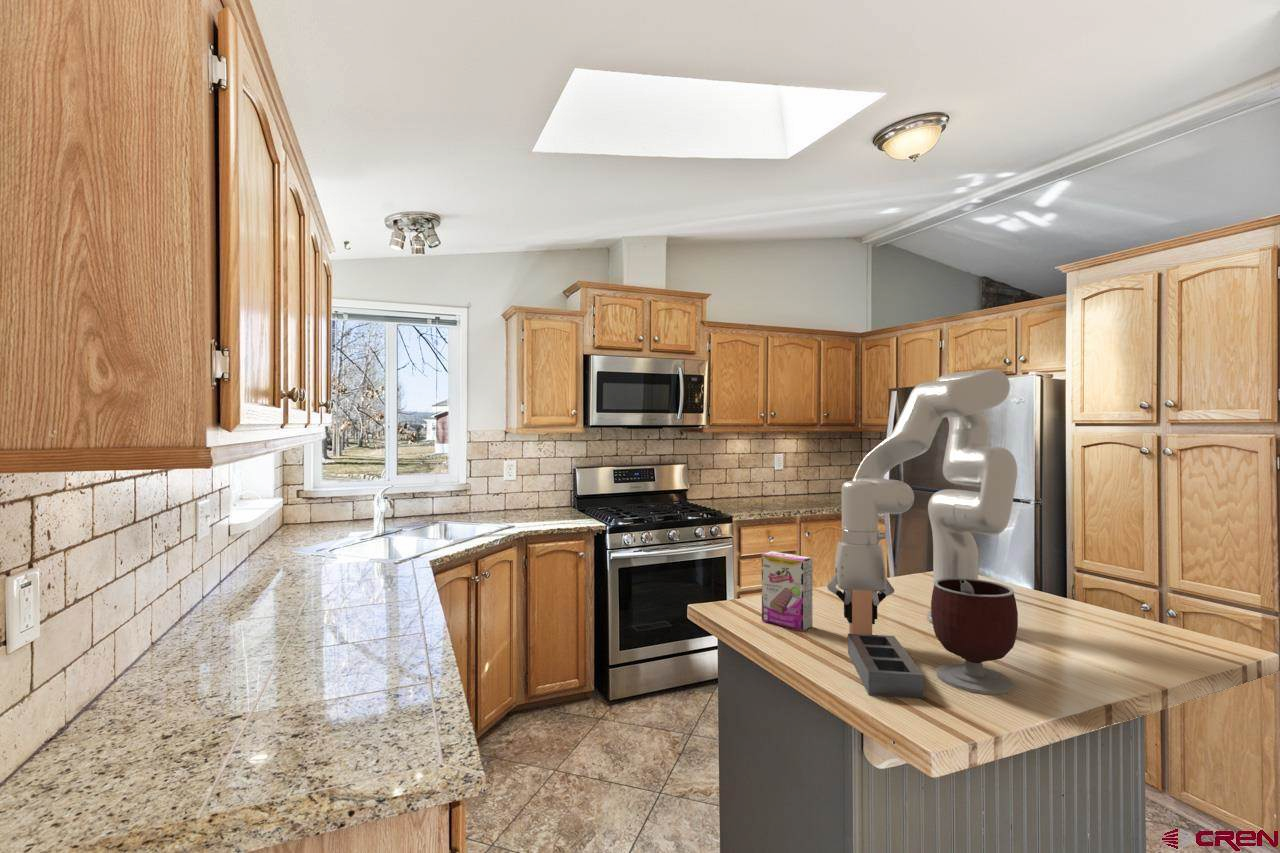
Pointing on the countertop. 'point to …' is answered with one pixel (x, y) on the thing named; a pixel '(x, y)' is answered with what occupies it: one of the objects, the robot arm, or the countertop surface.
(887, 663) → the rail
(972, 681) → the mate gourd
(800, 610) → the candy bar box
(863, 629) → the square peg
